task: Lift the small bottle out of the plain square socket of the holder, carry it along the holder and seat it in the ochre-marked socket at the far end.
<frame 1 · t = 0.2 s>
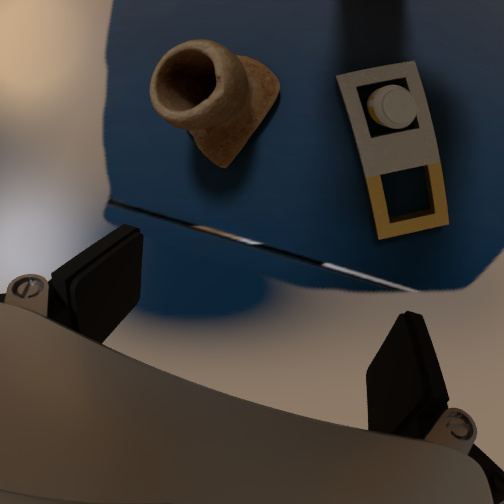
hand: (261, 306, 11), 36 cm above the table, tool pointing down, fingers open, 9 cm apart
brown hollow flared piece: (227, 103, 43), on the table
holder: (396, 149, 40), on the table
supplement bottle: (384, 107, 38), resting in holder
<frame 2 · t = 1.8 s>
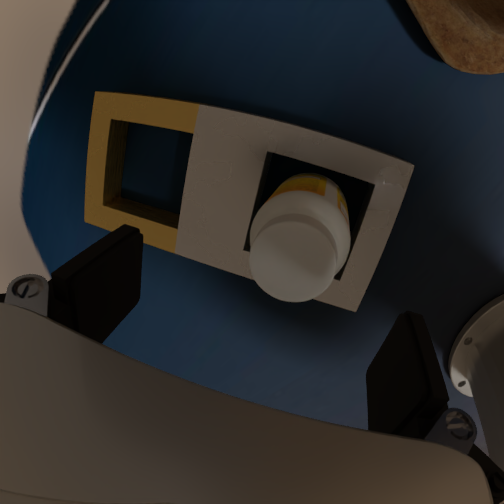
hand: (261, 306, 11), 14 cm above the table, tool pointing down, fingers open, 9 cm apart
holder: (230, 184, 24), on the table
supplement bottle: (309, 207, 23), resting in holder
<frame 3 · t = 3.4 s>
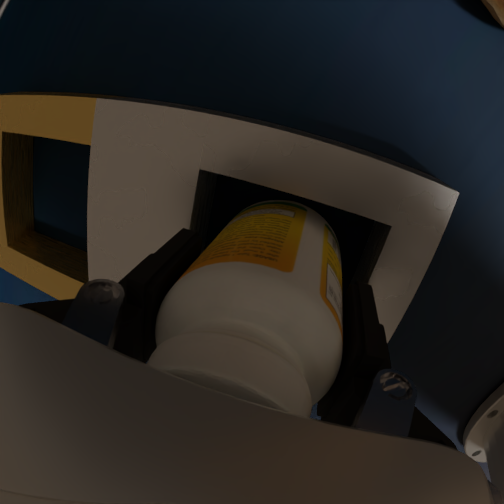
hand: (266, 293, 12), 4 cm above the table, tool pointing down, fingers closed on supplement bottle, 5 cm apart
holder: (159, 217, 15), on the table
supplement bottle: (280, 251, 15), resting in holder, touching gripper
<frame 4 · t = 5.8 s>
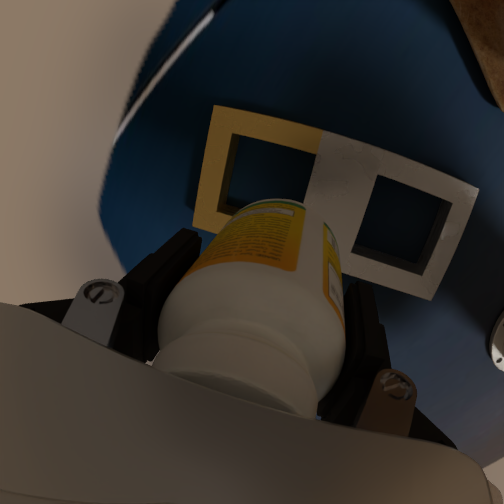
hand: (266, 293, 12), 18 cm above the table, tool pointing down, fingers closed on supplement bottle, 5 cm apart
holder: (335, 197, 28), on the table
supplement bottle: (279, 250, 15), point 15 cm above the table, touching gripper
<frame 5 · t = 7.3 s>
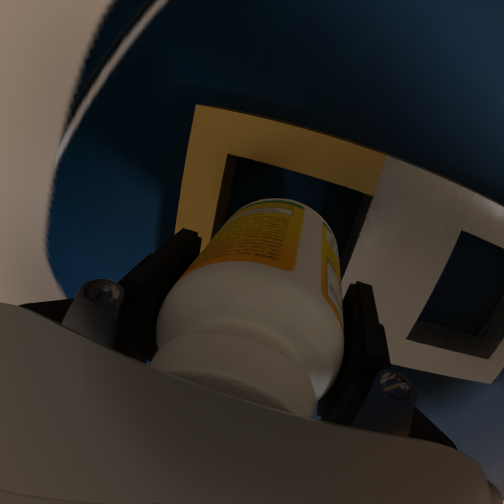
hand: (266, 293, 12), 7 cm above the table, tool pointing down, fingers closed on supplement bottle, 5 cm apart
holder: (386, 255, 18), on the table
supplement bottle: (278, 250, 15), point 4 cm above the table, touching gripper
when the fingers open (4 cm above the table, at t = 8.3 s): supplement bottle stays where it is, resting in holder.
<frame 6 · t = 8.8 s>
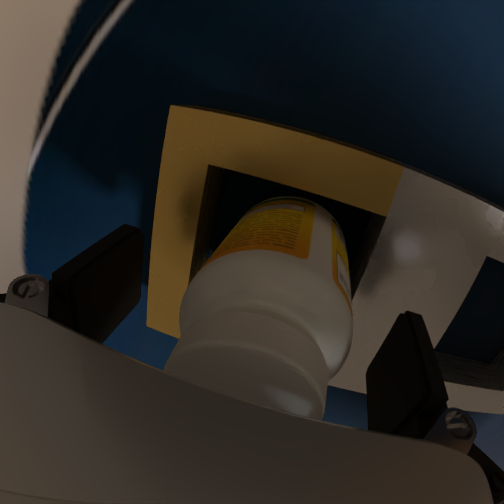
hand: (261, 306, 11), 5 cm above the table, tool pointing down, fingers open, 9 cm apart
holder: (396, 280, 15), on the table
supplement bottle: (289, 245, 16), resting in holder
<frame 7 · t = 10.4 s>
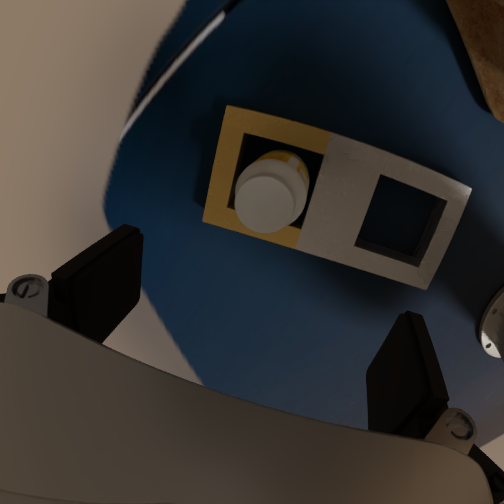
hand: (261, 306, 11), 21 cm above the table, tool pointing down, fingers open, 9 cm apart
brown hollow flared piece: (502, 50, 19), on the table
holder: (338, 194, 29), on the table
supplement bottle: (280, 176, 30), resting in holder
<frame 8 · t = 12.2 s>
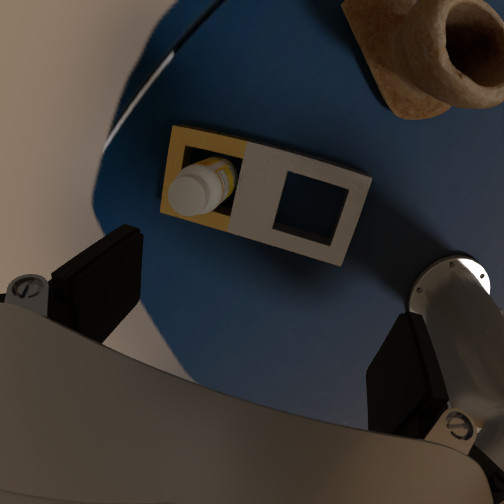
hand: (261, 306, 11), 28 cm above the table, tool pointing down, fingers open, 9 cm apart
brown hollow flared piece: (410, 54, 28), on the table
holder: (262, 189, 38), on the table
supplement bottle: (217, 176, 39), resting in holder
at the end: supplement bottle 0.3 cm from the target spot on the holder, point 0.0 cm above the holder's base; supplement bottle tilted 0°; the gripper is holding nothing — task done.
